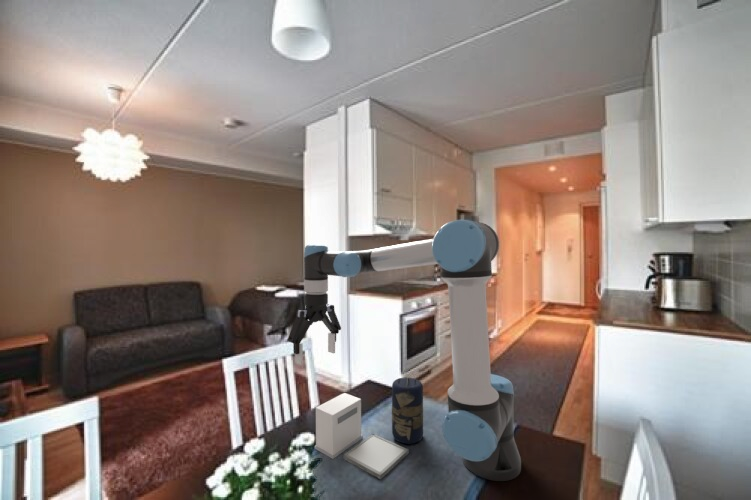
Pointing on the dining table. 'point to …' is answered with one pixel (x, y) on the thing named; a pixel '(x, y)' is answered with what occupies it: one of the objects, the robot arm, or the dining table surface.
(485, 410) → the robot arm
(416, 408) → the canister
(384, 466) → the mat
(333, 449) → the unit
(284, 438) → the dining table surface
